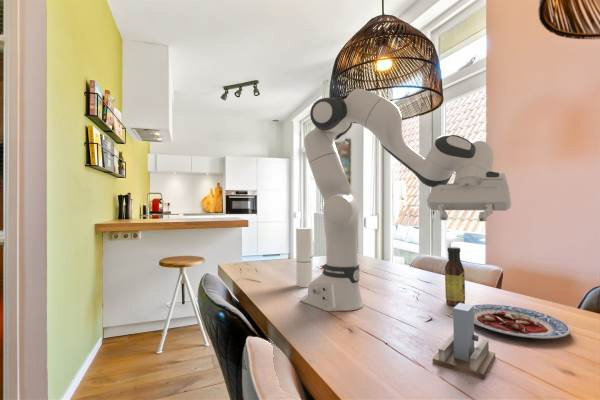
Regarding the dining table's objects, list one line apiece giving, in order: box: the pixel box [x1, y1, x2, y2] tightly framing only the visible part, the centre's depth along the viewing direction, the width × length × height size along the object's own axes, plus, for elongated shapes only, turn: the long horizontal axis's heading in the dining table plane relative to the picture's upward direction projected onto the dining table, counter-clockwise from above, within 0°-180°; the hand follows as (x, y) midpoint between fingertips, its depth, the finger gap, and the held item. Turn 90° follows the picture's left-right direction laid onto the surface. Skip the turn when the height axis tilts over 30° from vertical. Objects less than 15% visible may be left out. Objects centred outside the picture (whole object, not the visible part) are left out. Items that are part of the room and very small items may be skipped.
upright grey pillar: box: [452, 303, 480, 362], centre depth 71 cm, size 4×5×11 cm
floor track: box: [432, 332, 496, 380], centre depth 71 cm, size 10×12×4 cm
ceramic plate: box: [474, 303, 571, 340], centre depth 91 cm, size 26×26×3 cm
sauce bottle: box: [444, 246, 466, 307], centre depth 111 cm, size 7×6×20 cm
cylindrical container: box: [295, 227, 314, 288], centre depth 137 cm, size 7×7×25 cm
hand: (461, 219), depth 82 cm, fingers open, 8 cm apart
